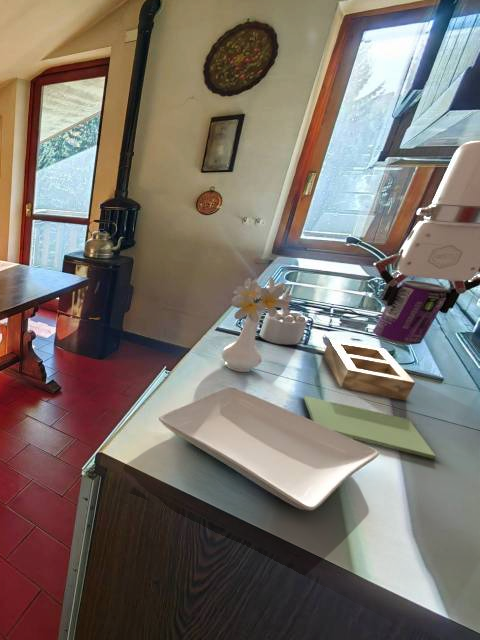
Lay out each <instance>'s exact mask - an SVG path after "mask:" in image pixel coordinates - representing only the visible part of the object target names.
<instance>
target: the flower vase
mask: <svg viewBox="0 0 480 640" xmlns="http://www.w3.org/2000/svg"><path fill="white" fill-rule="evenodd" d="M257 280H258V278H257V277H256V278H254V279H253V280H252V279H251V278H250V277H247V279H245V281H244V284H243V286H242V285H238V286H236V288H235V289H234V290H233V291H232V294H235V295H234V296H233V298H232V299H230V302H229V303H230V305H231V306H232V307H234V308H237V309H238V310H236V312H235V313H234V319H236V320H241V319H243V318H245V317H246V319H245V321H244V324H243V327H242V330H241V332H240V334H239V335H238V337H237V338H236V339H235V341H233V342H232V343H230V344H227V345H226V346H224V347H223V349H222V351H221V353H220V356H221V358H222V360H223V361H224V365H225V367H226V368H228V369H230V370H232V371H235V372H240V373H249V372H251V371H252V369H255V368H256V367H258V366H260V365H261V364H262V359H263V358H262V354H261V352H260V351H259V349H258V348H257V344H256V335H257V331H258V327H259V324H260V320H261V318H262V316H263V314H264V312H265V311H266V310H267V313H269V315H270V316H271V317H275V316H276V313H277V311H278V310H277V308H280V310H282V311H283V313H284V315H285V311H286V313H287V314H288V315H289V313H290V311H291V310H290V303H291V302H292V301H293V299H294V295H293V294H290V292H291V290H292V285H290V286H288V288H287V289H286V287H287V285H286V283H285V282H278V283H277V284H276V281H275V280H274V278H273V276H269V277H268V285H266V286H265V287H262V286H261V285H259V284H258V282H257ZM284 290H285V292H284ZM276 310H277V311H276Z"/></svg>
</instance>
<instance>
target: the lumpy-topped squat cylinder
mask: <svg viewBox="0 0 480 640" xmlns="http://www.w3.org/2000/svg"><path fill="white" fill-rule="evenodd" d="M276 311H277V313H276V316H275V317H271V316H270V315H269V313H268V312H267V313H266V314H265V316H264V319H263V321H262V325H261V327H260V331H259V336H260V337H261V339H263V340H265V341H266V342H268V343H273V344H277V345H296V344H298V343H300V342H301V340H302V338H303V335H304V333H305V330H306V328H307V324H308V322H309V317H307V316H305V315H303V314H302V313H300V312H298V311H292V310H290V313H289V315H288V314H287V313H286V311H285V315H284V313H283V311H282V309H279V310H277V309H276Z"/></svg>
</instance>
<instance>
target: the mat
mask: <svg viewBox="0 0 480 640" xmlns="http://www.w3.org/2000/svg"><path fill="white" fill-rule="evenodd" d="M303 400H304V402H305V406H306V409H307V412H308V415H309V418H310V420H312V421H314V422H316V423H318V424H320V425H323V426H325V427H327V428H329V429H331V430H334V431H336V432H338V433H340V434H342V435H344V436H346V437H349V438H351V439H353V440H356V441H361V442H366V443H369V444H372V445H377V446H381V447H385V448H387V449H393V450H396V451H401V452H403V453H409V454H411V455H412V454H413V455H415V456H416V455H417V456H420V457H424V458H428V459H433V460H435V459H436V457H437V455H436V454H435V453H434V451H433V450H432V448H431V447H430V446H429V444H428V443H427V442H426V440H425V439H424V437H422V435H421V434H420V433H419V431H418V430H417V429H416V428H415V426H414V424H413V423H412V422H411V420H410V419H409V418H405V417H401V416H397V415H391V414H388V413H382V412H379V411H374V410H370V409H365V408H360V407H357V406H351V405H347V404H342V403H339V402H334V401H329V400H326V399H320V398H315V397H312V396H306V395H305V396H304V397H303Z"/></svg>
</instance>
